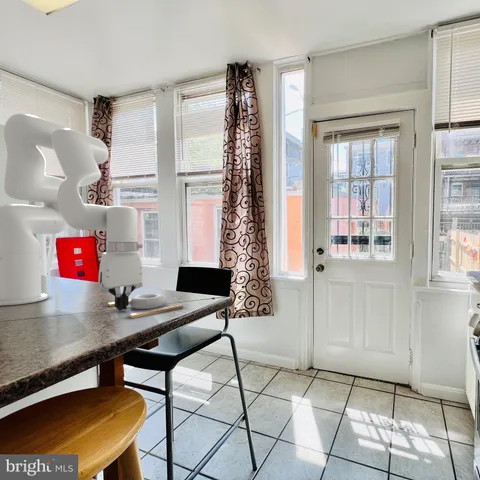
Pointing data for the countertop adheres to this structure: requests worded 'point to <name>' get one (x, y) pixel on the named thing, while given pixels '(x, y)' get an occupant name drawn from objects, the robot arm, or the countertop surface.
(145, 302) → the donut
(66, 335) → the countertop surface
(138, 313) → the strips
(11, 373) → the countertop surface
